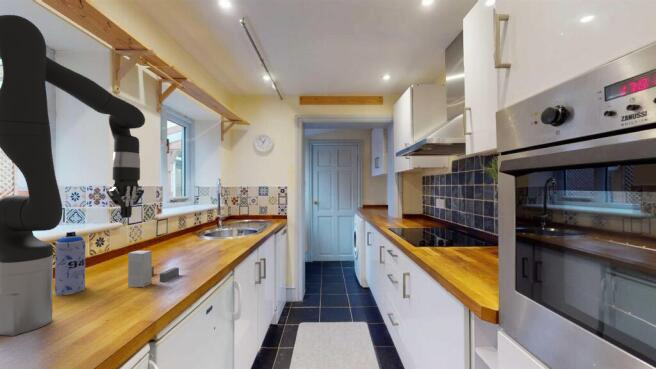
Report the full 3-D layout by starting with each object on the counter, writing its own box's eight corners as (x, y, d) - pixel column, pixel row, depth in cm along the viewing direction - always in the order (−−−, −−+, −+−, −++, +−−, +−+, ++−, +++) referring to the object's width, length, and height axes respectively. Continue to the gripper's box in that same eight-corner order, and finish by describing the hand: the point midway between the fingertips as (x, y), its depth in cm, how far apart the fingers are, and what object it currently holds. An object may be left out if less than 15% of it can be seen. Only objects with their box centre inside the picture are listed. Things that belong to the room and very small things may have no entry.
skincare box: (152, 283, 100) (152, 250, 100) (143, 287, 96) (143, 253, 96) (136, 282, 101) (137, 250, 101) (127, 286, 97) (127, 253, 97)
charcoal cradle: (164, 282, 102) (164, 273, 102) (132, 280, 103) (133, 272, 103) (178, 275, 109) (178, 267, 110) (149, 273, 111) (149, 266, 111)
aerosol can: (63, 296, 88) (63, 234, 88) (48, 293, 90) (49, 233, 91) (91, 288, 95) (91, 230, 95) (76, 285, 98) (77, 229, 98)
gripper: (119, 164, 86) (118, 220, 86) (151, 167, 99) (151, 215, 99) (98, 165, 87) (97, 219, 87) (133, 168, 100) (132, 215, 100)
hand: (126, 217), depth 93 cm, fingers closed
